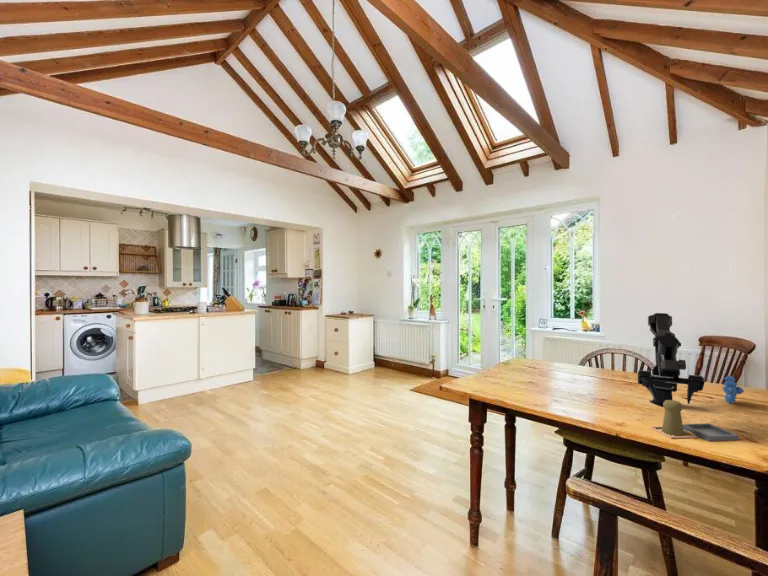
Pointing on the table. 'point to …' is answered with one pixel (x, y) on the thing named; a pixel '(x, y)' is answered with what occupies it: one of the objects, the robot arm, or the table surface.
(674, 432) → the cork
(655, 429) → the frame
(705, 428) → the lower port socket
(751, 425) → the table surface
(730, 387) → the grapes
